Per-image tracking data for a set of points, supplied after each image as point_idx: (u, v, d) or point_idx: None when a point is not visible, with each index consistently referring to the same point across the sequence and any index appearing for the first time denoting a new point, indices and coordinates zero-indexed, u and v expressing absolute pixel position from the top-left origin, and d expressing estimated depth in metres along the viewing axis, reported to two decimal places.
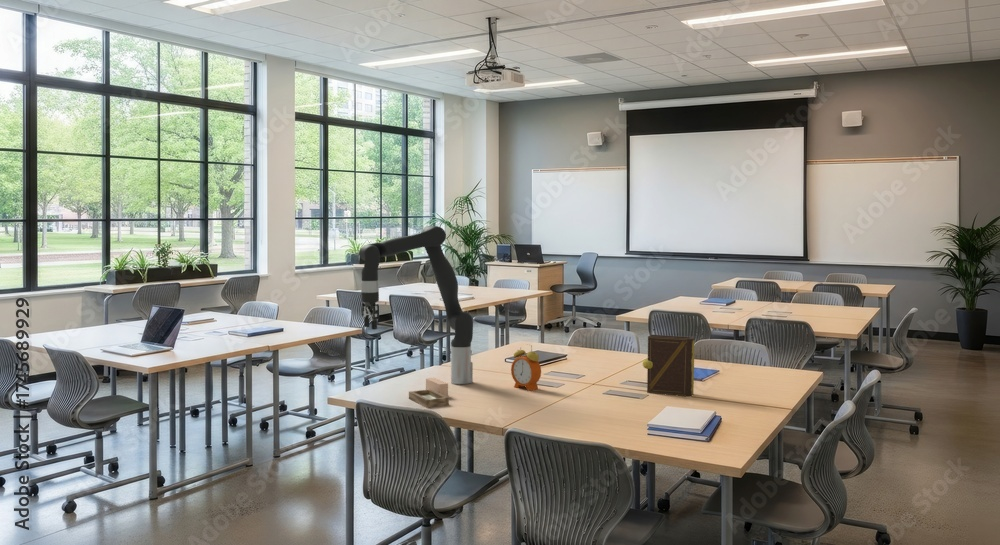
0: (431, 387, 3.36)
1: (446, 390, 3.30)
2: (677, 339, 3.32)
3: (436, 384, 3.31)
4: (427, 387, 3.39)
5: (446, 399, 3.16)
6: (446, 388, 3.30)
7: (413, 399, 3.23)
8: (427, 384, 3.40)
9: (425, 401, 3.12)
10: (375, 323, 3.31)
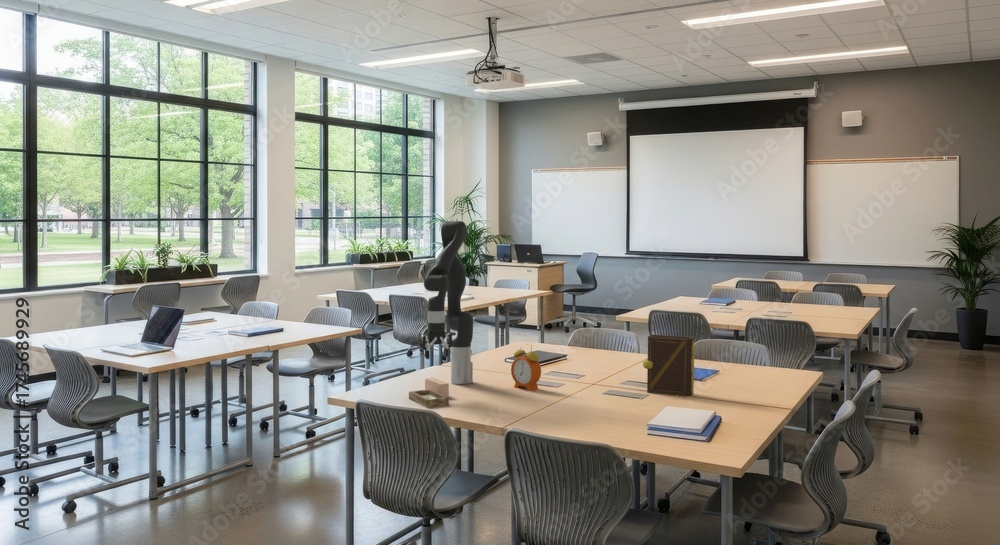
0: (431, 387, 3.35)
1: (446, 389, 3.31)
2: (677, 339, 3.32)
3: (437, 384, 3.31)
4: (426, 387, 3.39)
5: (446, 399, 3.16)
6: (447, 388, 3.31)
7: (413, 399, 3.23)
8: (426, 384, 3.39)
9: (425, 401, 3.12)
10: None
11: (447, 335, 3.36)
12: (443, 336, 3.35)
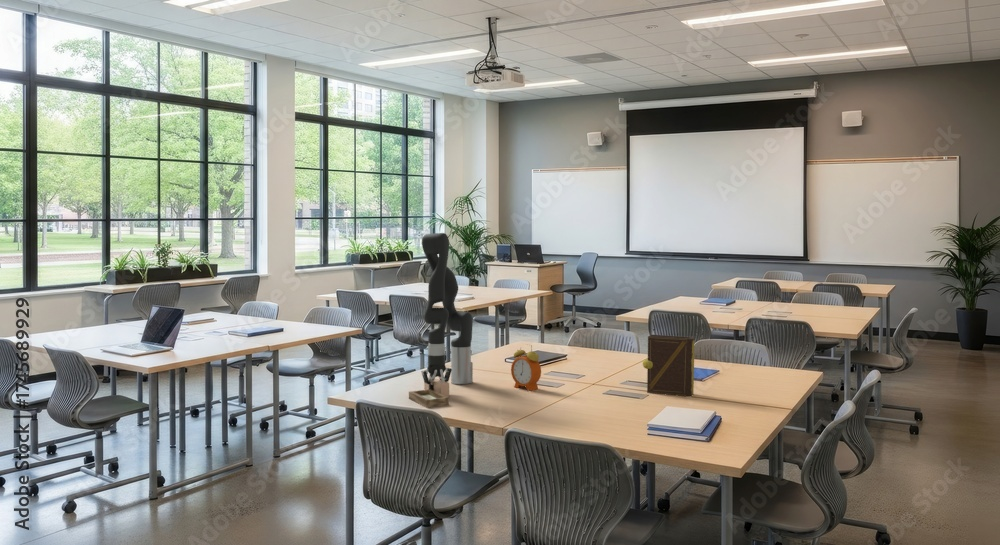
0: None
1: (447, 389, 3.31)
2: (677, 339, 3.32)
3: (437, 383, 3.31)
4: (426, 387, 3.39)
5: (446, 399, 3.16)
6: (447, 387, 3.31)
7: (413, 399, 3.23)
8: (425, 383, 3.39)
9: (425, 401, 3.12)
10: None
11: (447, 369, 3.37)
12: (443, 368, 3.36)
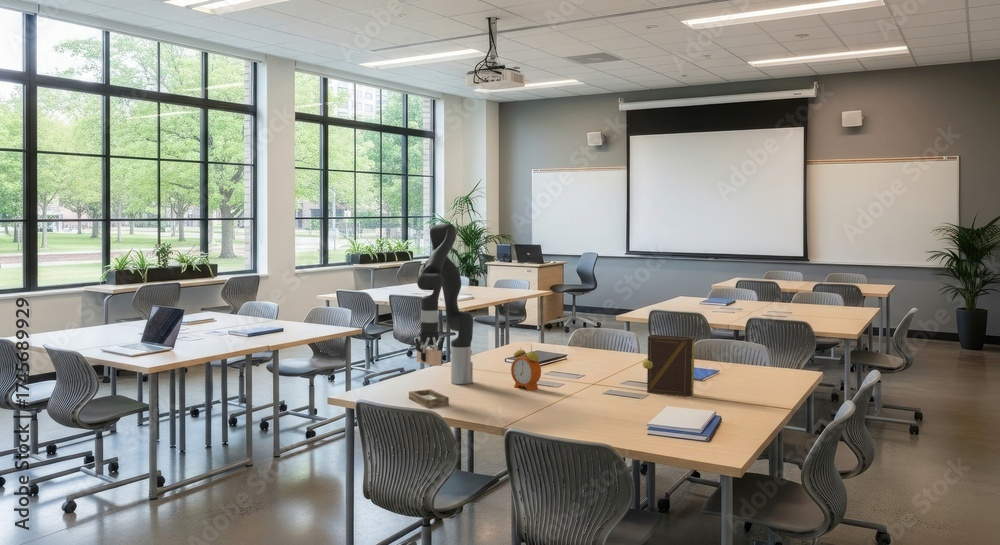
0: None
1: (439, 357, 3.20)
2: (677, 339, 3.32)
3: (429, 351, 3.21)
4: (418, 356, 3.28)
5: (446, 399, 3.16)
6: (439, 356, 3.20)
7: (413, 399, 3.23)
8: (418, 352, 3.29)
9: (425, 401, 3.12)
10: None
11: (440, 337, 3.27)
12: (436, 336, 3.25)
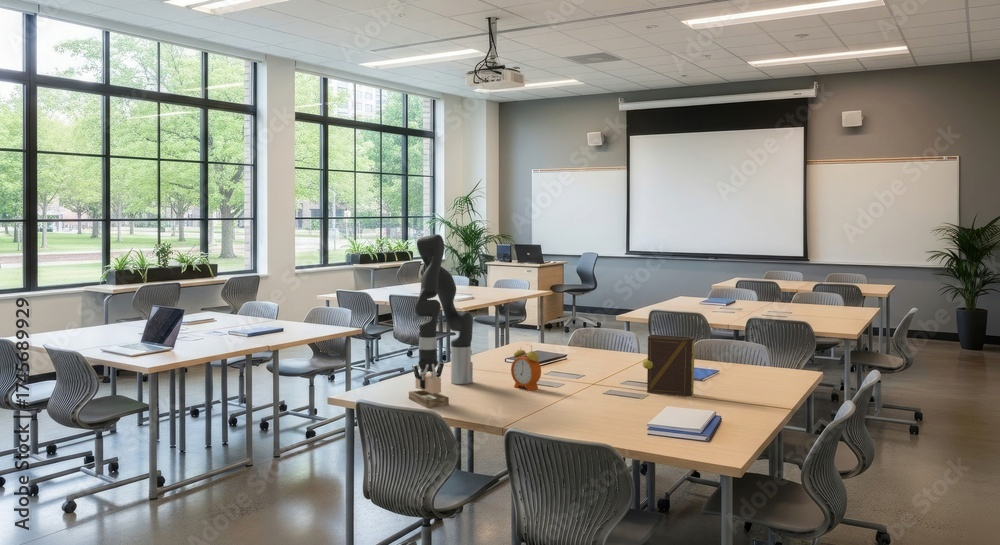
0: None
1: (438, 384, 3.16)
2: (677, 339, 3.32)
3: (428, 379, 3.17)
4: (417, 382, 3.25)
5: (446, 399, 3.16)
6: (439, 383, 3.17)
7: (413, 399, 3.23)
8: (417, 379, 3.25)
9: (425, 401, 3.12)
10: None
11: (439, 363, 3.23)
12: (435, 363, 3.21)
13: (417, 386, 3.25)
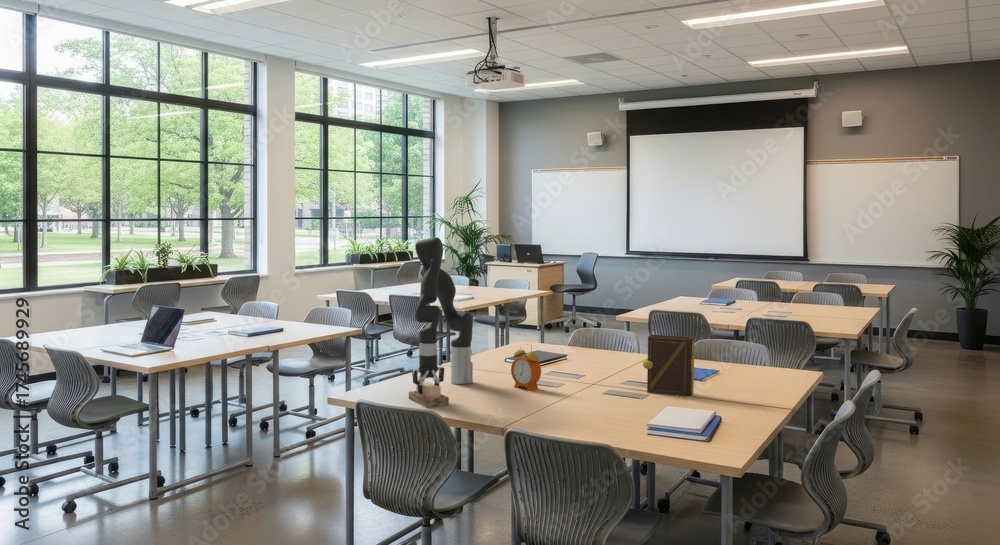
0: None
1: (438, 394, 3.16)
2: (677, 339, 3.32)
3: (428, 388, 3.17)
4: None
5: (446, 399, 3.16)
6: (439, 392, 3.17)
7: (413, 399, 3.23)
8: (417, 387, 3.25)
9: (425, 401, 3.12)
10: None
11: (439, 368, 3.23)
12: (435, 369, 3.21)
13: None
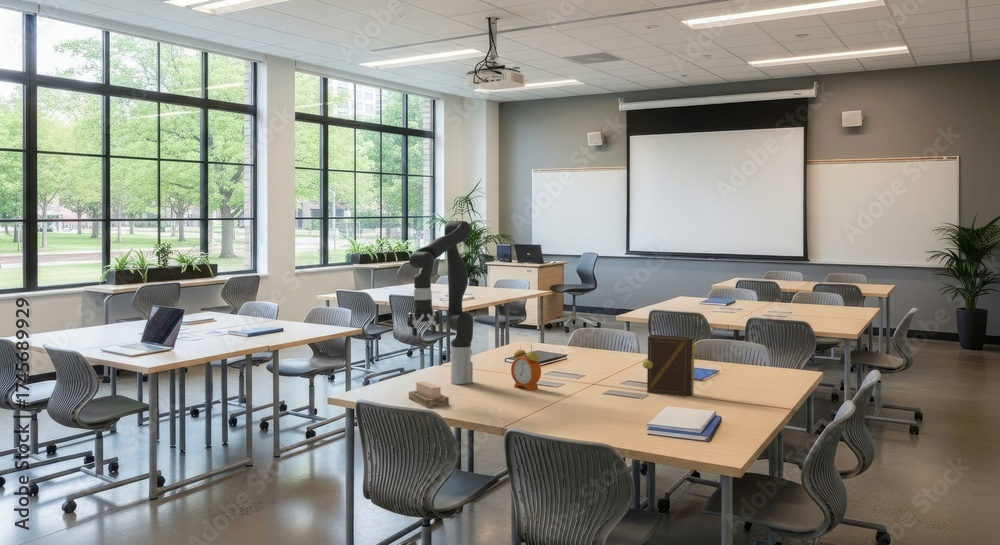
0: (422, 390, 3.21)
1: (438, 394, 3.16)
2: (677, 339, 3.32)
3: (428, 388, 3.17)
4: (418, 391, 3.25)
5: (446, 399, 3.16)
6: (439, 392, 3.17)
7: (413, 399, 3.23)
8: (417, 387, 3.25)
9: (425, 401, 3.12)
10: None
11: (434, 312, 3.34)
12: (430, 313, 3.32)
13: None
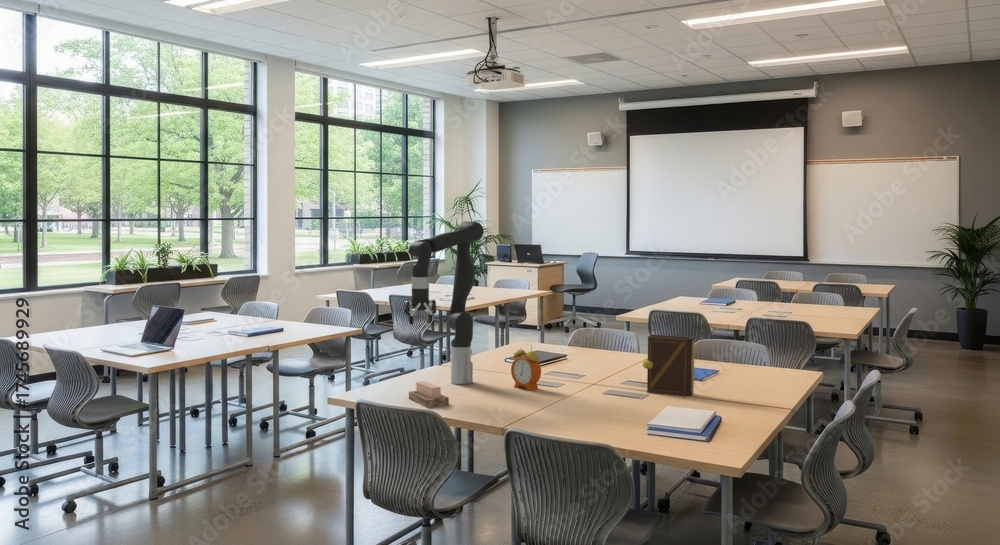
0: (422, 390, 3.21)
1: (438, 394, 3.16)
2: (677, 339, 3.32)
3: (428, 388, 3.17)
4: (418, 391, 3.25)
5: (446, 399, 3.16)
6: (439, 392, 3.17)
7: (413, 399, 3.23)
8: (417, 387, 3.25)
9: (425, 401, 3.12)
10: None
11: (431, 301, 3.40)
12: (427, 302, 3.39)
13: None
